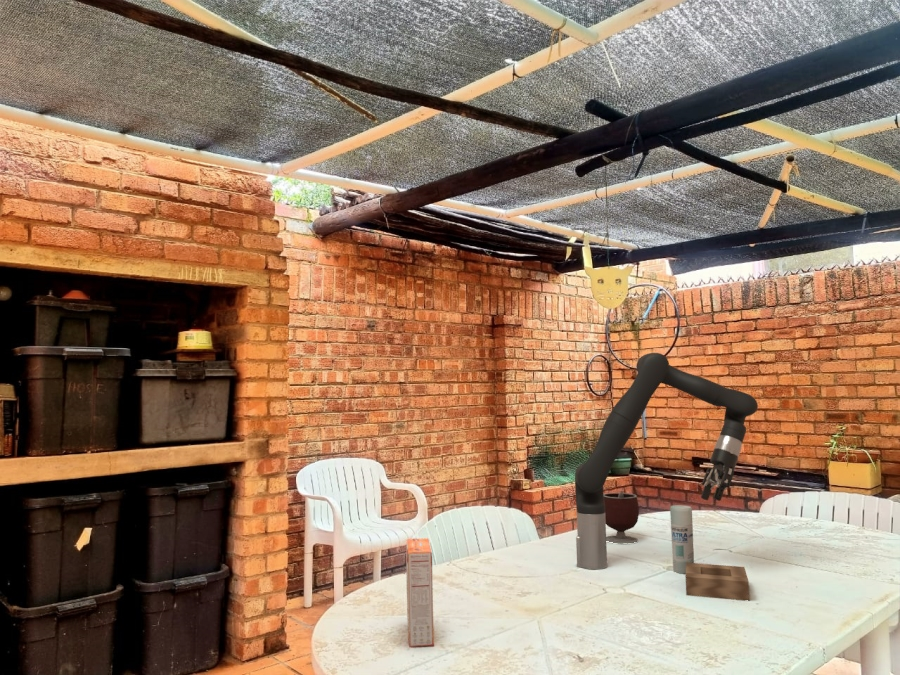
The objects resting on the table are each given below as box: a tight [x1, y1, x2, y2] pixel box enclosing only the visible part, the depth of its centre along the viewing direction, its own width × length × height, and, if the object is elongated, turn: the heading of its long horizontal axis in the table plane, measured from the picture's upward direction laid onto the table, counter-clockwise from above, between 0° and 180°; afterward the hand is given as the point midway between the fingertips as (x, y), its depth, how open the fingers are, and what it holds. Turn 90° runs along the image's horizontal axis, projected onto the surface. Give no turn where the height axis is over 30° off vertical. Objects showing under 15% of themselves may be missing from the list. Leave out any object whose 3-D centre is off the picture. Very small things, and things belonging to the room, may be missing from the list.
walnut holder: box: [685, 562, 751, 602], centre depth 182 cm, size 16×16×5 cm
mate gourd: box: [603, 490, 640, 544], centre depth 246 cm, size 16×14×20 cm
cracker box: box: [405, 537, 435, 648], centre depth 151 cm, size 14×6×21 cm, turn 5°
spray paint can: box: [669, 504, 695, 575], centre depth 202 cm, size 6×6×20 cm
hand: (710, 499), depth 202 cm, fingers open, 8 cm apart
